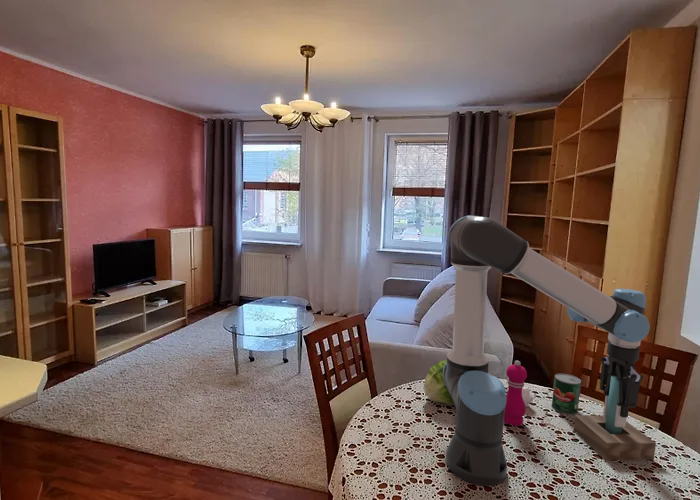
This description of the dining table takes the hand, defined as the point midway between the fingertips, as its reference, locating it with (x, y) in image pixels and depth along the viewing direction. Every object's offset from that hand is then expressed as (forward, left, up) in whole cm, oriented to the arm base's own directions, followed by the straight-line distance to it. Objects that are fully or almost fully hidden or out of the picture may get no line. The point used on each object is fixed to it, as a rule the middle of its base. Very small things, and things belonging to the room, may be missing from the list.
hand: (613, 421), depth 114 cm
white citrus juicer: (-16, +22, -7) cm, 28 cm away
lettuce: (-40, +24, -7) cm, 47 cm away
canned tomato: (-2, +20, -7) cm, 21 cm away
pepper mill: (-24, +12, -7) cm, 28 cm away
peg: (0, 0, -5) cm, 5 cm away
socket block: (0, 0, -7) cm, 7 cm away
